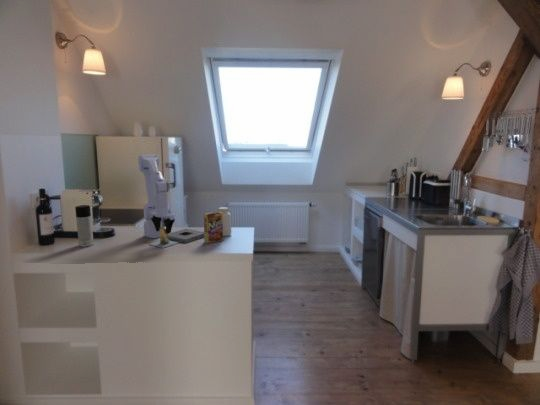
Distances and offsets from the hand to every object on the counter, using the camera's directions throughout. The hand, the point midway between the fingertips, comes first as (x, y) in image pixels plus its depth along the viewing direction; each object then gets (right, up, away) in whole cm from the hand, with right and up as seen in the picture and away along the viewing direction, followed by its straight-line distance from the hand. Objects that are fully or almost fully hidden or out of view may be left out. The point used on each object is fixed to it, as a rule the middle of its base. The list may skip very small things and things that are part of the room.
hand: (163, 232), depth 190 cm
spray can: (-39, -7, 0) cm, 39 cm away
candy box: (+24, -5, +5) cm, 26 cm away
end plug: (0, -6, +1) cm, 6 cm away
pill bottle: (+28, -3, +18) cm, 34 cm away
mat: (0, -6, +1) cm, 6 cm away
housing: (+8, -4, +13) cm, 16 cm away
